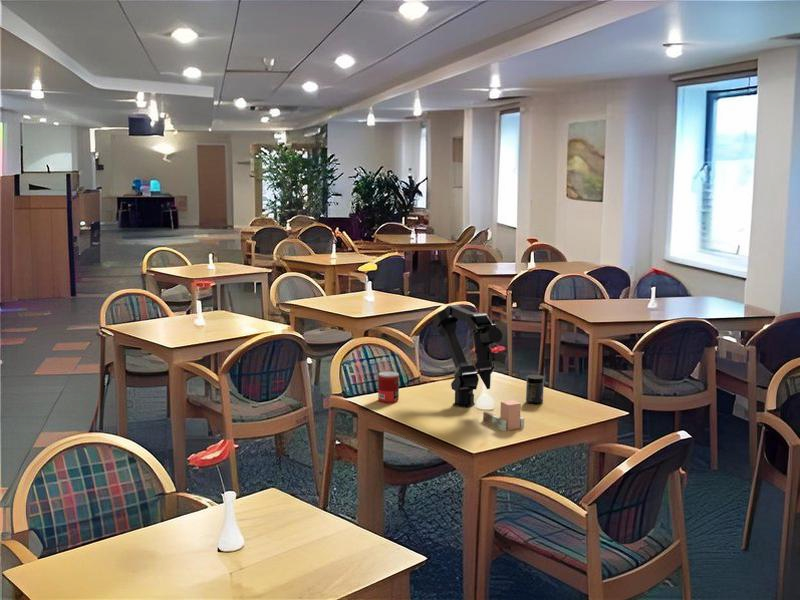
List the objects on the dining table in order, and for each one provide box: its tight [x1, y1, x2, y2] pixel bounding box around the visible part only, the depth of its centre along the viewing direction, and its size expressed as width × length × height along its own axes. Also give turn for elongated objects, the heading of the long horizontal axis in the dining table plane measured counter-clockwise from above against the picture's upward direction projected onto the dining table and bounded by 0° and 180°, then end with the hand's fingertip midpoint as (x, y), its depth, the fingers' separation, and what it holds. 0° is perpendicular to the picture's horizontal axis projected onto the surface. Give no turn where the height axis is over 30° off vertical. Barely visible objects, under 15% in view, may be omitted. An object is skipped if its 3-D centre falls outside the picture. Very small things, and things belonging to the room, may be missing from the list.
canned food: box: [377, 370, 400, 404], centre depth 329 cm, size 8×8×11 cm
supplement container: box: [525, 374, 545, 406], centre depth 329 cm, size 7×7×10 cm
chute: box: [482, 410, 525, 432], centre depth 301 cm, size 13×9×4 cm
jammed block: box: [499, 399, 521, 431], centre depth 297 cm, size 5×5×9 cm
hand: (488, 389), depth 308 cm, fingers closed
